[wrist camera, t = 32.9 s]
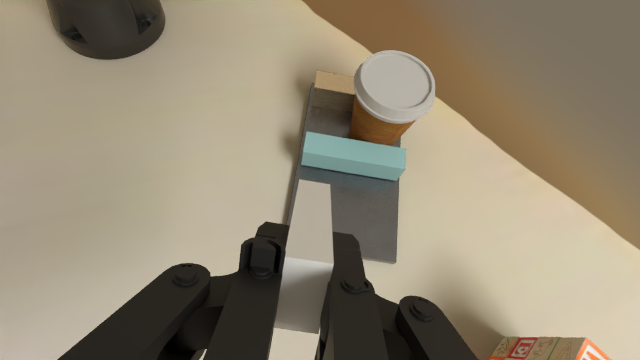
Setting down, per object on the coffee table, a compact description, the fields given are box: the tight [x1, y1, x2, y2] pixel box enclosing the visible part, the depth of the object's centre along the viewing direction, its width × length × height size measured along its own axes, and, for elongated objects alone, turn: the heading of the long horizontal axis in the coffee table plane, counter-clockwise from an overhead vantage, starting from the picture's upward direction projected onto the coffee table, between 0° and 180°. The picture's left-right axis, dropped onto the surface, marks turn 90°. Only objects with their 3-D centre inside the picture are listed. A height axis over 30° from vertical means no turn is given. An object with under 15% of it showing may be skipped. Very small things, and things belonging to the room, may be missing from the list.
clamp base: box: [287, 70, 401, 264], centre depth 45 cm, size 25×14×5 cm, turn 172°
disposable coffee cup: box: [350, 50, 435, 146], centre depth 43 cm, size 10×10×12 cm
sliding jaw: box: [301, 132, 406, 181], centre depth 44 cm, size 3×13×4 cm, turn 82°
